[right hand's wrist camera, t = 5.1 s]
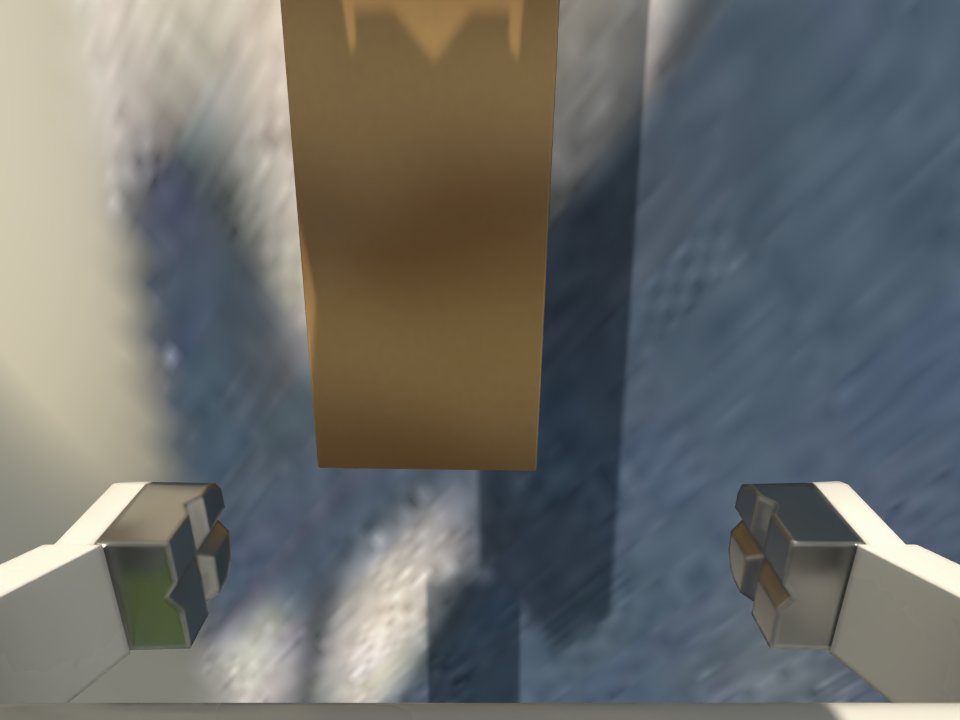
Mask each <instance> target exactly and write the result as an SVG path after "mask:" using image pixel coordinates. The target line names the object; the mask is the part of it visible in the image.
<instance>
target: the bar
mask: <svg viewBox="0 0 960 720" xmlns="http://www.w3.org/2000/svg"><path fill="white" fill-rule="evenodd" d="M280 1H281V14H282V26H283V38H284V51H285V63H286V75H287V88H288V100H289V112H290V125H291V137H292V150H293V162H294V174H295V187H296V199H297V211H298V224H299V236H300V248H301V261H302V273H303V285H304V298H305V310H306V322H307V335H308V347H309V360H310V372H311V384H312V397H313V409H314V421H315V434H316V446H317V458H318V466H319V467H320V468H374V469H442V470H511V471H535V470H536V468H537V448H538V428H539V408H540V387H541V367H542V347H543V327H544V306H545V286H546V266H547V246H548V225H549V205H550V185H551V165H552V144H553V124H554V104H555V84H556V63H557V43H558V23H559V3H560V0H280Z"/></svg>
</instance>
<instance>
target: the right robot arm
mask: <svg viewBox="0 0 960 720" xmlns="http://www.w3.org/2000/svg"><path fill="white" fill-rule="evenodd" d="M224 508H225V506H224V501H223V496H222V492H221V489H220V488H219V487H218V486H217V485H216V484H215V483H178V482H152V483H151V482H119V483H115V484H112V485H111V487H110V488H109V489H108V490H107V491H106V492H105V493H104V494H103V495H102V496H101V497H100V498H99V499H98V500H97V501H96V502H95V503H94V504H93V505H92V506H91V507H90V508H89V509H88V510H87V511H86V512H85V513H84V514H83V516H82V517H81V518H80V519H79V520H78V521H77V522H76V523H75V524H74V525H73V526H72V527H71V528H70V529H69V530H68V531H67V532H66V533H65V534H64V535H63V536H62V537H61V538H60V539H59V540H58V541H57V543H55V544H54V545H42V546H40V547H38V548H35V549H33V550H31V551H29V552H27V553H25V554H22V555H20V556H18V557H16V558H14V559H12V560H10V561H7V562H5V563H3V564H1V565H0V720H960V565H959V564H957V563H955V562H953V561H950V560H948V559H946V558H944V557H942V556H940V555H937V554H935V553H933V552H931V551H929V550H927V549H925V548H922V547H920V546H918V545H906V544H905V543H904V542H903V541H902V540H901V539H900V538H899V537H898V536H897V535H896V534H895V533H894V532H893V531H892V530H891V529H890V528H889V527H888V526H887V525H886V524H885V523H884V522H883V521H882V520H881V519H880V517H879V516H878V515H877V514H876V513H875V512H874V511H873V510H872V509H871V508H870V507H869V506H868V505H867V504H866V503H865V502H864V501H863V500H862V499H861V498H860V497H859V496H858V495H857V494H856V493H855V492H854V490H853V489H852V488H851V487H850V486H849V485H847V484H845V483H842V482H840V481H835V482H808V483H777V484H742V486H741V488H740V490H739V492H738V495H737V500H736V505H735V508H736V509H737V511H738V513H739V514H740V516H741V518H742V519H743V520H742V521H741V522H740V523H739V524H738V525H737V526H736V527H735V528H734V529H733V530H732V531H731V535H730V542H729V561H730V569H731V572H732V575H733V579H734V581H735V583H736V585H737V587H738V589H739V591H740V593H742V594H743V595H745V596H746V597H748V598H749V599H751V600H752V601H754V603H753V608H752V616H753V618H754V620H755V622H756V623H757V625H758V627H759V629H760V631H761V633H762V635H763V636H764V638H765V640H766V642H767V644H768V646H769V648H772V649H808V650H830V654H832V655H833V656H834V657H835V658H837V659H838V660H839V661H840V662H842V663H843V664H844V665H845V666H847V667H848V668H849V669H850V670H852V671H853V672H854V673H855V674H857V675H858V676H859V677H860V678H862V679H863V680H864V681H865V682H867V683H868V684H869V685H870V686H872V687H873V688H874V689H875V690H876V691H878V692H879V693H880V694H881V695H883V696H884V697H885V698H886V699H888V700H889V701H890V702H891V703H69V702H70V701H71V700H72V699H74V698H75V697H76V696H77V695H79V694H80V693H81V692H82V691H84V690H85V689H86V688H87V687H89V686H90V685H91V684H92V683H94V682H95V681H96V680H97V679H99V678H100V677H101V676H102V675H104V674H105V673H106V672H107V671H109V670H110V669H111V668H112V667H114V666H115V665H116V664H117V663H119V662H120V661H121V660H122V659H124V658H125V657H126V656H127V655H129V654H130V650H151V649H186V648H191V646H192V644H193V642H194V640H195V638H196V636H197V635H198V633H199V631H200V629H201V627H202V625H203V623H204V622H205V620H206V618H207V616H208V609H207V603H206V601H208V600H209V599H211V598H212V597H214V596H215V595H217V594H218V593H220V591H221V589H222V587H223V585H224V583H225V581H226V579H227V575H228V571H229V567H230V562H231V541H230V535H229V531H228V530H227V529H226V528H225V527H224V526H223V525H222V524H221V523H220V522H219V521H218V520H217V519H218V518H219V516H220V514H221V513H222V511H223V509H224Z"/></svg>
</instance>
